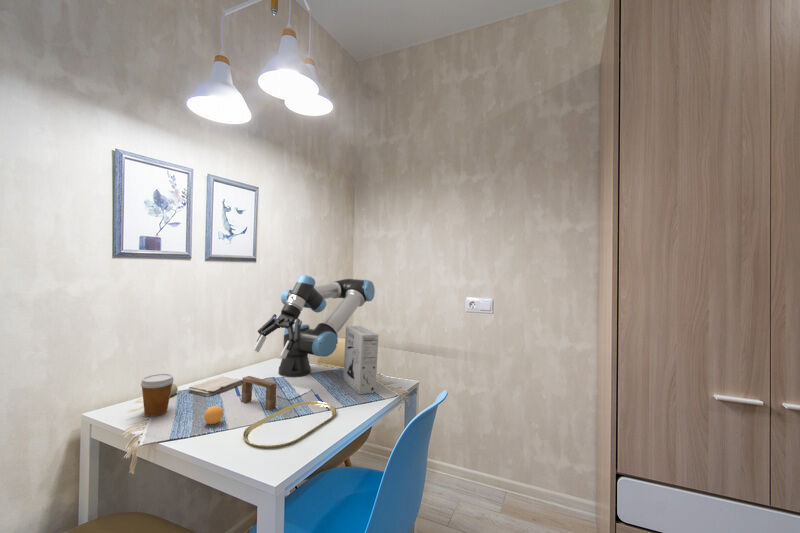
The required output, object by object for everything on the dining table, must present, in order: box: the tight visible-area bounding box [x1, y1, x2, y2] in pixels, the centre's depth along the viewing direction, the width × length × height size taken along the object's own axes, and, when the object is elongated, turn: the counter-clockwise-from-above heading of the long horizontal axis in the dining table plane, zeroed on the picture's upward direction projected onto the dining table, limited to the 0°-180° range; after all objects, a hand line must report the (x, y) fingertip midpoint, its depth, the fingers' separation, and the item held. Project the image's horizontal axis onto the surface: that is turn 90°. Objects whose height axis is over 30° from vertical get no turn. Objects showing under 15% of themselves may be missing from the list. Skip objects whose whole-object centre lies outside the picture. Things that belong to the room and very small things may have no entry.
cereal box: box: [342, 325, 379, 395], centre depth 155 cm, size 22×8×25 cm, turn 27°
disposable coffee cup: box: [140, 373, 175, 417], centre depth 119 cm, size 10×10×12 cm
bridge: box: [240, 375, 278, 411], centre depth 129 cm, size 3×14×9 cm, turn 64°
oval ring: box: [242, 400, 337, 449], centre depth 116 cm, size 19×35×2 cm, turn 156°
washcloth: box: [188, 376, 242, 398], centre depth 144 cm, size 12×18×3 cm, turn 160°
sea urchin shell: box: [170, 382, 178, 397], centre depth 134 cm, size 9×8×8 cm
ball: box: [203, 405, 224, 425], centre depth 113 cm, size 6×6×6 cm
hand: (268, 354), depth 137 cm, fingers open, 13 cm apart
